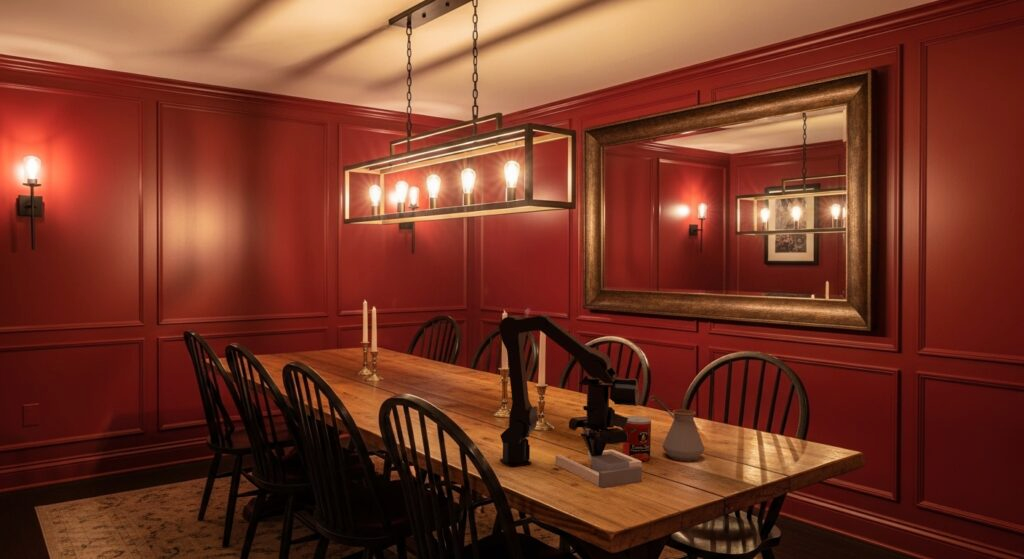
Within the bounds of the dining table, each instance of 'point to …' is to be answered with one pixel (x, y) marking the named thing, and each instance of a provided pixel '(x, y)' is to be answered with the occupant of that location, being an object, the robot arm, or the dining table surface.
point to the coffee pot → (682, 435)
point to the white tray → (604, 477)
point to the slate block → (607, 463)
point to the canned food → (638, 438)
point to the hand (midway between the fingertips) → (596, 462)
